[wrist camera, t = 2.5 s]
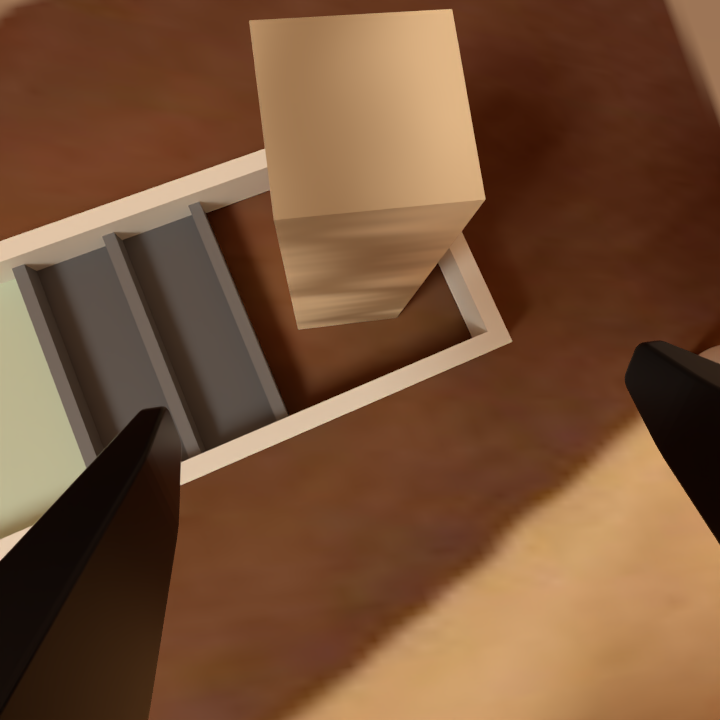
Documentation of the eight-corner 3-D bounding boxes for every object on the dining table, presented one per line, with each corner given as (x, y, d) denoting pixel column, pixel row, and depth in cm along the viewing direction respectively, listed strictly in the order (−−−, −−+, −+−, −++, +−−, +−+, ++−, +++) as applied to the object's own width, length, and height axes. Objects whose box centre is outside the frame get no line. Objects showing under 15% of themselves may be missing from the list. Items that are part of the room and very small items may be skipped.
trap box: (394, 127, 23) (401, 100, 21) (495, 348, 22) (512, 341, 20) (-218, 346, 20) (-277, 338, 18) (-130, 618, 19) (-181, 641, 17)
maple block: (382, 223, 23) (452, 8, 11) (396, 317, 22) (485, 199, 10) (285, 233, 22) (249, 20, 10) (298, 329, 22) (273, 220, 10)
